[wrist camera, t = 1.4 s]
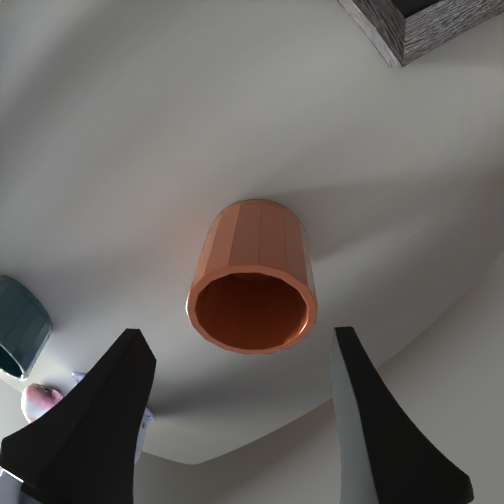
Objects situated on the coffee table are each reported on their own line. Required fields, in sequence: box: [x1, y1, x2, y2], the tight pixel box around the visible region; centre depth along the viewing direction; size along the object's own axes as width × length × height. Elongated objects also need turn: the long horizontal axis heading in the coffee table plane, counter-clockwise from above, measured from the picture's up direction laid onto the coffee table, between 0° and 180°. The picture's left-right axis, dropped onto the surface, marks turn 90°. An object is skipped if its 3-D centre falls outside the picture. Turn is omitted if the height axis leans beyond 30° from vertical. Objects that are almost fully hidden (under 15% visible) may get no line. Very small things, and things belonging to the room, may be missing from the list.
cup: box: [186, 200, 317, 354], centre depth 14 cm, size 5×5×6 cm
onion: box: [21, 383, 64, 423], centre depth 31 cm, size 8×8×7 cm
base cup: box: [0, 276, 52, 380], centre depth 20 cm, size 8×8×6 cm
